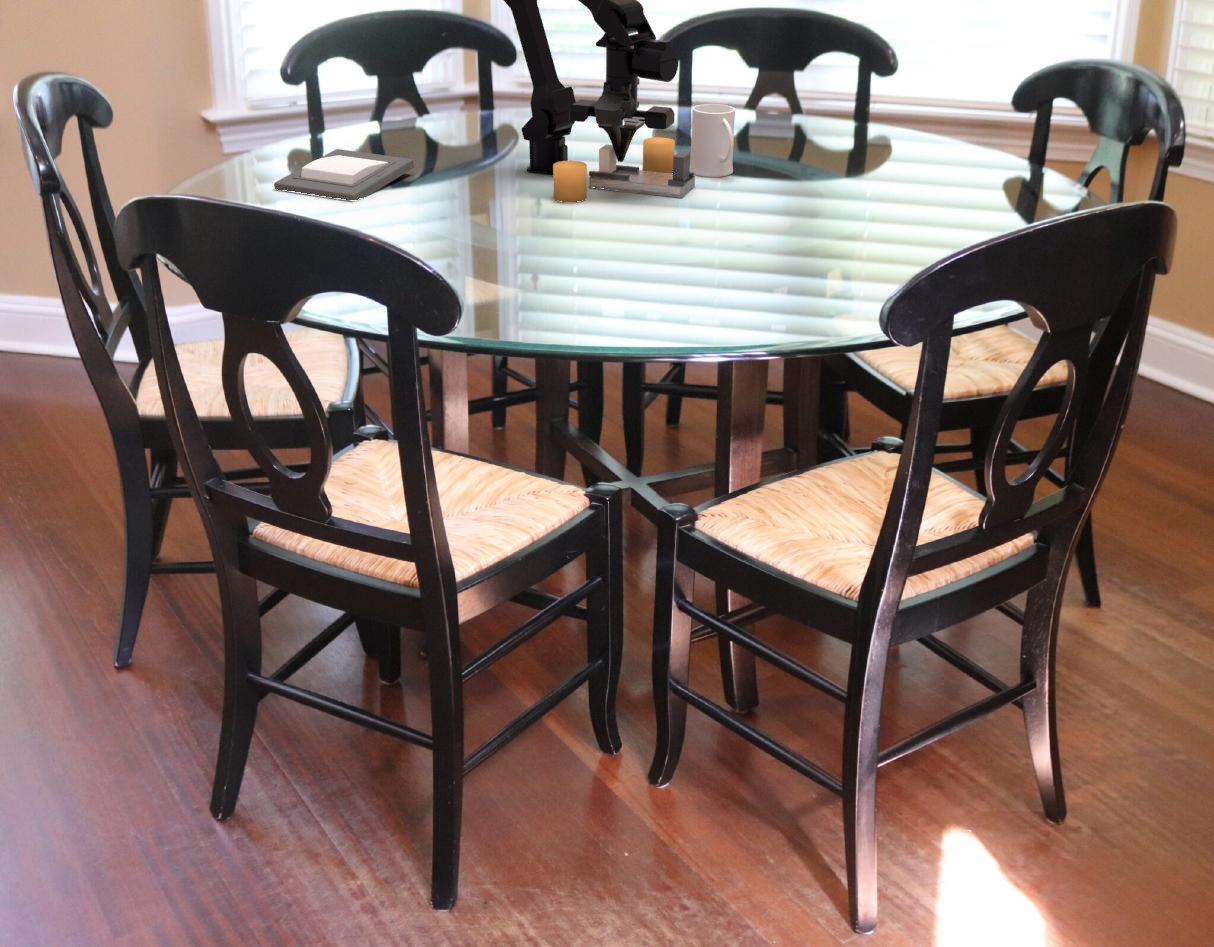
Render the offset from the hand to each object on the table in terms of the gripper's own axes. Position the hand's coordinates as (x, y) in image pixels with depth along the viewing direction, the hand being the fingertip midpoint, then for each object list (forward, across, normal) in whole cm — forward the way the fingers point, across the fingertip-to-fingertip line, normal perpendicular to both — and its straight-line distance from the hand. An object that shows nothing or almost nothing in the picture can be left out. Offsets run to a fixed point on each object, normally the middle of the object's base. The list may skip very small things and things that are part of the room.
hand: (620, 161), depth 230 cm
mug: (+5, +14, +14) cm, 20 cm away
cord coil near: (+4, -6, -11) cm, 13 cm away
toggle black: (+2, +12, 0) cm, 12 cm away
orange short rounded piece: (+4, +4, +11) cm, 12 cm away
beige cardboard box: (+2, -2, 0) cm, 3 cm away
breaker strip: (+4, +4, 0) cm, 6 cm away
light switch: (+5, -49, -17) cm, 52 cm away
